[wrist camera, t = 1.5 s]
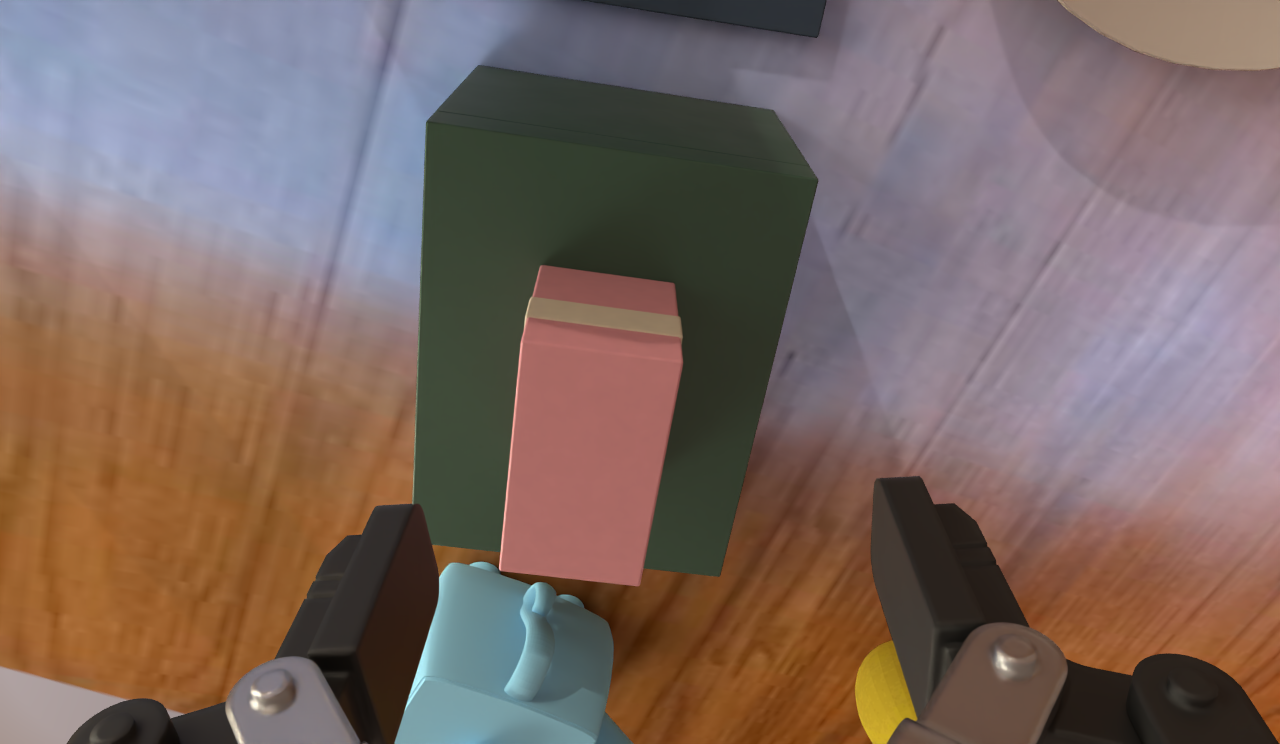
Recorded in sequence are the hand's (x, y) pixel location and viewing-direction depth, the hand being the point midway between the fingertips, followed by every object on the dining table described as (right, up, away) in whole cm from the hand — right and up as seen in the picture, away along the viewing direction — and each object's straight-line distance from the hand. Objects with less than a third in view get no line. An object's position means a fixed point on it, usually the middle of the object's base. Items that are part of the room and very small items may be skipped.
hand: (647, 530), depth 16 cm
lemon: (+14, -13, +35) cm, 39 cm away
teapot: (-8, -12, +34) cm, 37 cm away
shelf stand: (-2, +7, +24) cm, 25 cm away
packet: (-2, +2, +15) cm, 15 cm away
